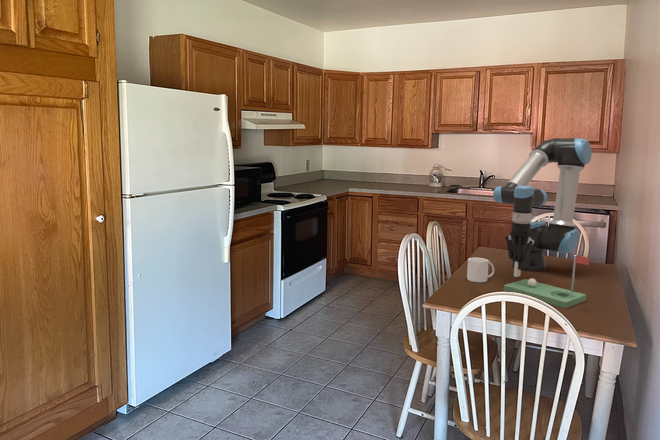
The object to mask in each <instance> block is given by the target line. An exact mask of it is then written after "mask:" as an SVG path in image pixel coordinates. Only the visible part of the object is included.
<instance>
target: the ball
mask: <svg viewBox="0 0 660 440" xmlns="http://www.w3.org/2000/svg"><path fill="white" fill-rule="evenodd" d="M527 280H528V285H529V286H531V287H534V286H535V285H536V283H537V282H538V281H537V280H536V279H535V278H533V277H532V278H529V279H527Z"/></svg>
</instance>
